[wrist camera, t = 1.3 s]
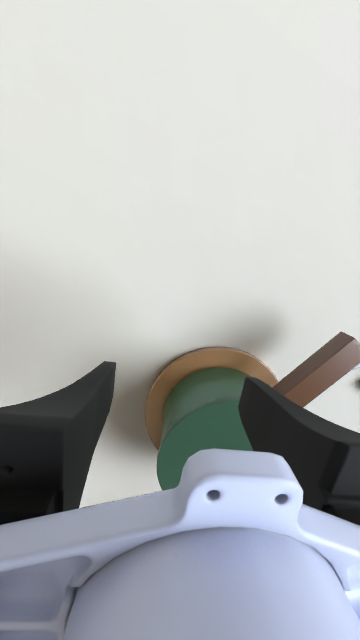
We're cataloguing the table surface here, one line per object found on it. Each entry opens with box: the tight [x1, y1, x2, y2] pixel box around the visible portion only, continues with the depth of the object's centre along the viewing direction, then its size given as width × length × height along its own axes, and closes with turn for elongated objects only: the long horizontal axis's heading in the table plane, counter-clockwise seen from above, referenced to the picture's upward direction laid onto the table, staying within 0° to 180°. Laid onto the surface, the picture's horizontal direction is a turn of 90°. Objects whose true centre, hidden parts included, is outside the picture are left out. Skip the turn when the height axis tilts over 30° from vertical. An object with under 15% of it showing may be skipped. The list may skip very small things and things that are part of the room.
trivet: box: [145, 347, 278, 450], centre depth 26 cm, size 14×14×1 cm
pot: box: [157, 332, 360, 491], centre depth 22 cm, size 19×11×7 cm, turn 133°
